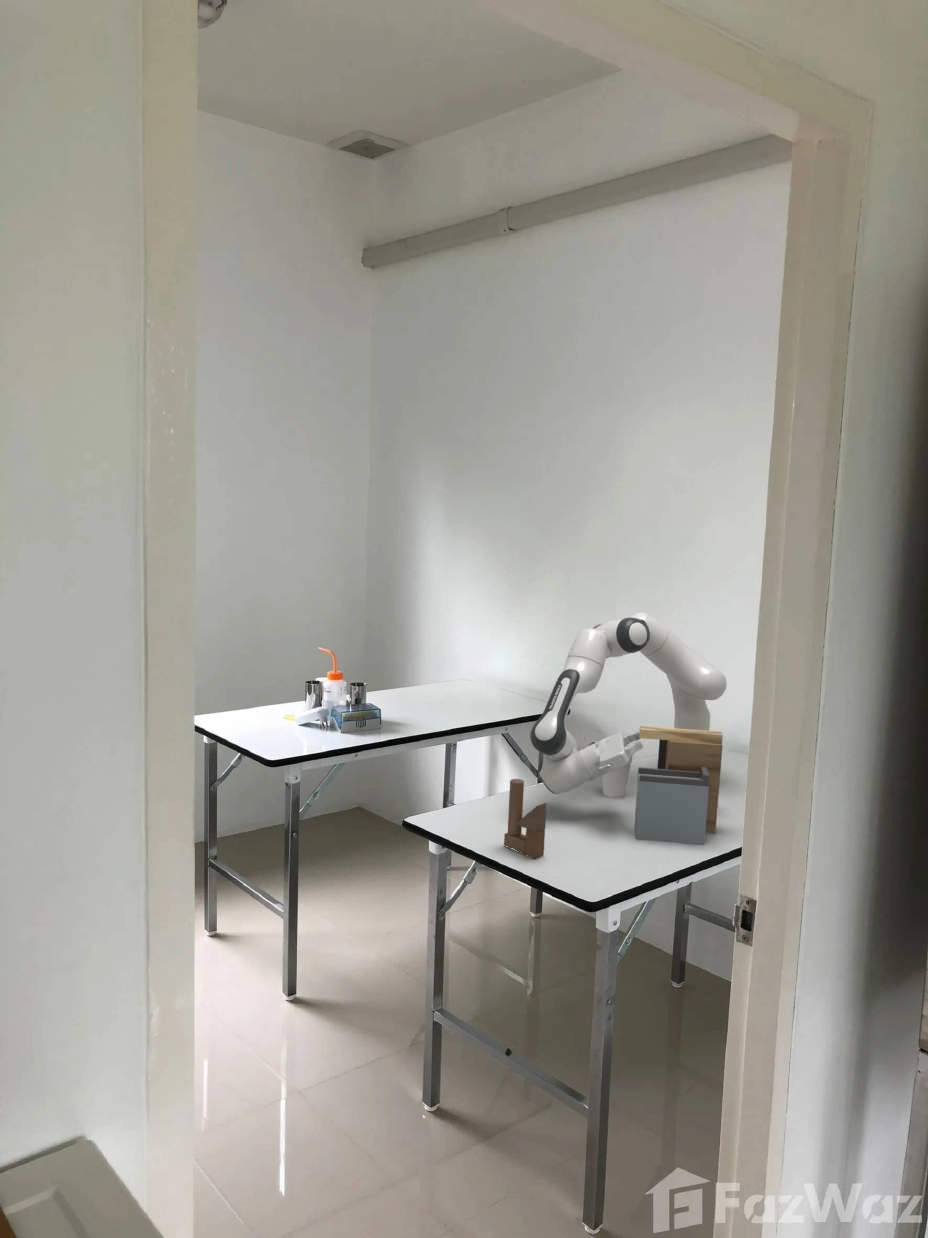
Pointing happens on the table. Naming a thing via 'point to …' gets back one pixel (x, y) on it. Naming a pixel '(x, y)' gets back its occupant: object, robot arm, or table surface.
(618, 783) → the foam cup
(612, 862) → the table surface
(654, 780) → the grey box
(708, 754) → the brown wooden plank
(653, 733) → the slat
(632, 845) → the table surface
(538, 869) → the table surface
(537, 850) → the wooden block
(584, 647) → the robot arm
